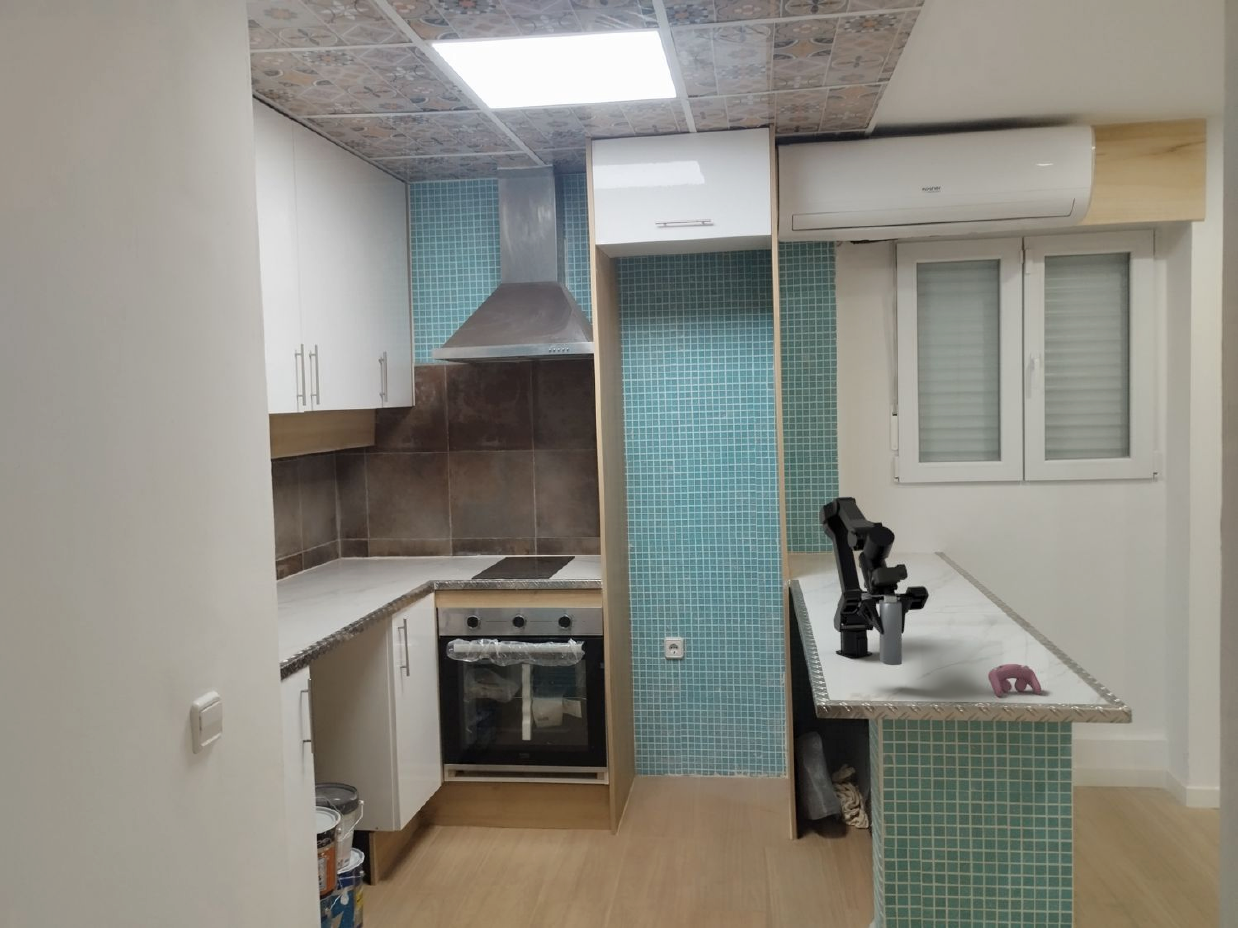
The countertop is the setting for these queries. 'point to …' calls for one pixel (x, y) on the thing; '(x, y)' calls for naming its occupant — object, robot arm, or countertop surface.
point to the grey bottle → (891, 630)
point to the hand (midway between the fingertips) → (892, 632)
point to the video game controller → (1017, 672)
